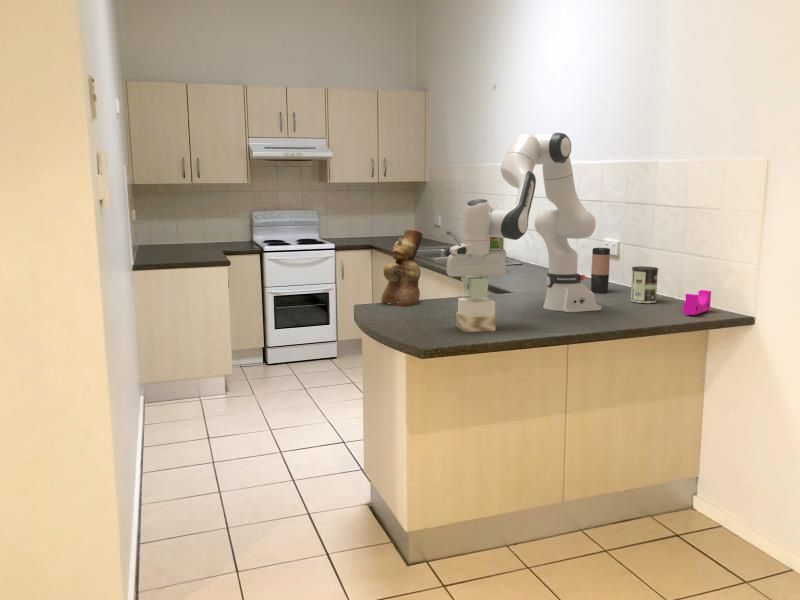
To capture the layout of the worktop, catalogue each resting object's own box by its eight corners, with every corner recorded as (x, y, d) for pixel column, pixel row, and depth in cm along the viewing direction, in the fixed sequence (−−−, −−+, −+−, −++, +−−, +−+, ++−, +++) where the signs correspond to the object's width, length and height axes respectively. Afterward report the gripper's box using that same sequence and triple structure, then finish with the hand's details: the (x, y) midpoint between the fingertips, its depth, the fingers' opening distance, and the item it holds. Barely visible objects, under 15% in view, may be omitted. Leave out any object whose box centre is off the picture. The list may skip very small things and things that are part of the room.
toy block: (693, 307, 278) (695, 289, 277) (709, 309, 274) (711, 290, 272) (678, 313, 267) (679, 293, 266) (694, 315, 263) (695, 295, 262)
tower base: (486, 325, 246) (486, 311, 245) (495, 331, 236) (495, 317, 235) (455, 326, 244) (455, 312, 244) (463, 332, 234) (463, 318, 233)
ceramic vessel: (373, 304, 285) (373, 231, 280) (403, 297, 302) (403, 228, 297) (405, 308, 276) (405, 232, 271) (435, 300, 294) (435, 229, 289)
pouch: (502, 275, 371) (504, 228, 367) (480, 274, 375) (481, 227, 371) (506, 272, 382) (508, 226, 378) (485, 271, 386) (486, 226, 381)
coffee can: (656, 299, 295) (658, 266, 293) (656, 303, 286) (658, 269, 283) (630, 298, 299) (632, 265, 296) (630, 302, 289) (631, 268, 287)
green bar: (478, 292, 244) (479, 275, 243) (487, 297, 233) (487, 279, 232) (464, 292, 243) (465, 275, 242) (472, 297, 232) (473, 280, 231)
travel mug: (611, 293, 311) (614, 248, 308) (597, 294, 308) (599, 249, 305) (600, 291, 318) (602, 247, 315) (586, 292, 315) (588, 248, 312)
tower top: (485, 311, 245) (485, 297, 244) (495, 316, 236) (495, 301, 235) (457, 312, 243) (458, 298, 242) (466, 317, 234) (466, 303, 233)
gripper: (503, 246, 240) (502, 286, 242) (445, 247, 237) (445, 288, 239) (509, 248, 234) (508, 289, 236) (449, 249, 231) (449, 291, 233)
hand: (475, 288), depth 238 cm, fingers closed on green bar, 5 cm apart
